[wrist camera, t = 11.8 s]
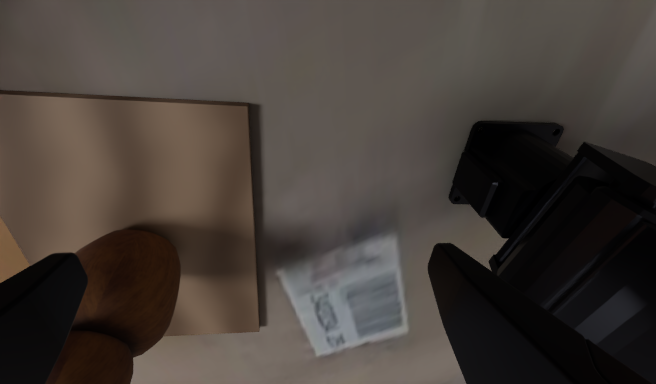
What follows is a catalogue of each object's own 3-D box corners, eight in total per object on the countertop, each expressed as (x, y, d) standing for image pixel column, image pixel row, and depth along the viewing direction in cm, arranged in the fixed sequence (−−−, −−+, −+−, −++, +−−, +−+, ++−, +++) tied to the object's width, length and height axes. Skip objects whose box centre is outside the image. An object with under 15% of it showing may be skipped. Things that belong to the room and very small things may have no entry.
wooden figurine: (92, 267, 24) (-124, 583, 11) (90, 207, 21) (-200, 539, 8) (187, 281, 25) (94, 565, 13) (197, 227, 23) (90, 523, 10)
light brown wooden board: (249, 98, 20) (247, 106, 18) (260, 317, 31) (259, 331, 30) (-50, 82, 17) (-76, 90, 16) (84, 325, 29) (75, 340, 28)
